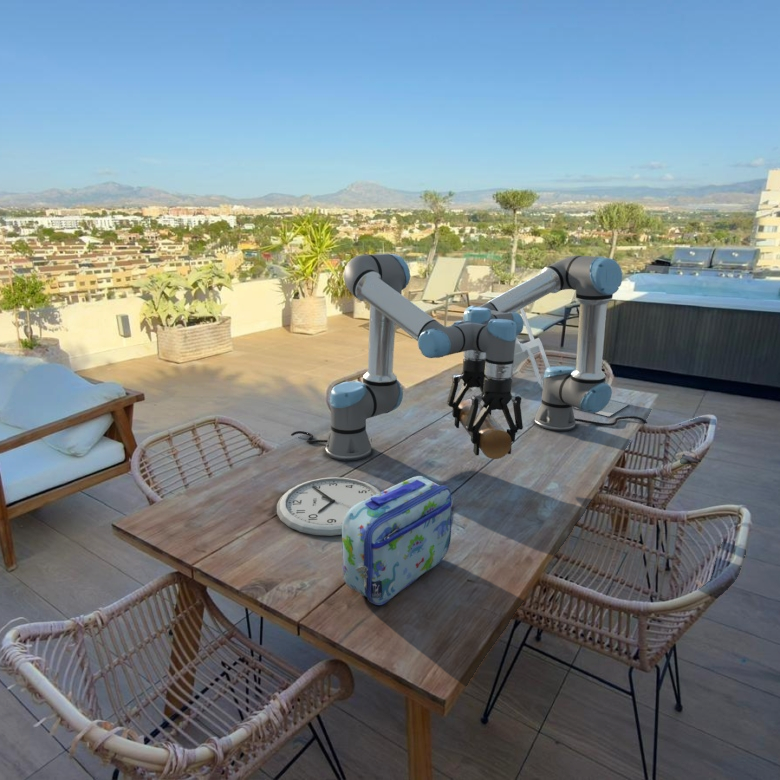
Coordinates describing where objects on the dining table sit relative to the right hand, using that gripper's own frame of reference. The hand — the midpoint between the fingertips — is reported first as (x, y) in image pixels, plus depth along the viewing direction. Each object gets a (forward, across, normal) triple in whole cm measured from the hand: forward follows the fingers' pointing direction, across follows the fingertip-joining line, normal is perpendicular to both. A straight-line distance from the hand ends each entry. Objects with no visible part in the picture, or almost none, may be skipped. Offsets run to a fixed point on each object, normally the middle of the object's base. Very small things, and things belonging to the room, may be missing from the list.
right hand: (470, 426), depth 169 cm
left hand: (0, 0, -21) cm, 21 cm away
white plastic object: (+12, +44, +84) cm, 96 cm away
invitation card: (+12, +73, +46) cm, 87 cm away
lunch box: (+12, -33, -57) cm, 67 cm away
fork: (+12, -17, -33) cm, 39 cm away
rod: (+1, 0, -10) cm, 11 cm away
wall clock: (+12, -46, -25) cm, 53 cm away
